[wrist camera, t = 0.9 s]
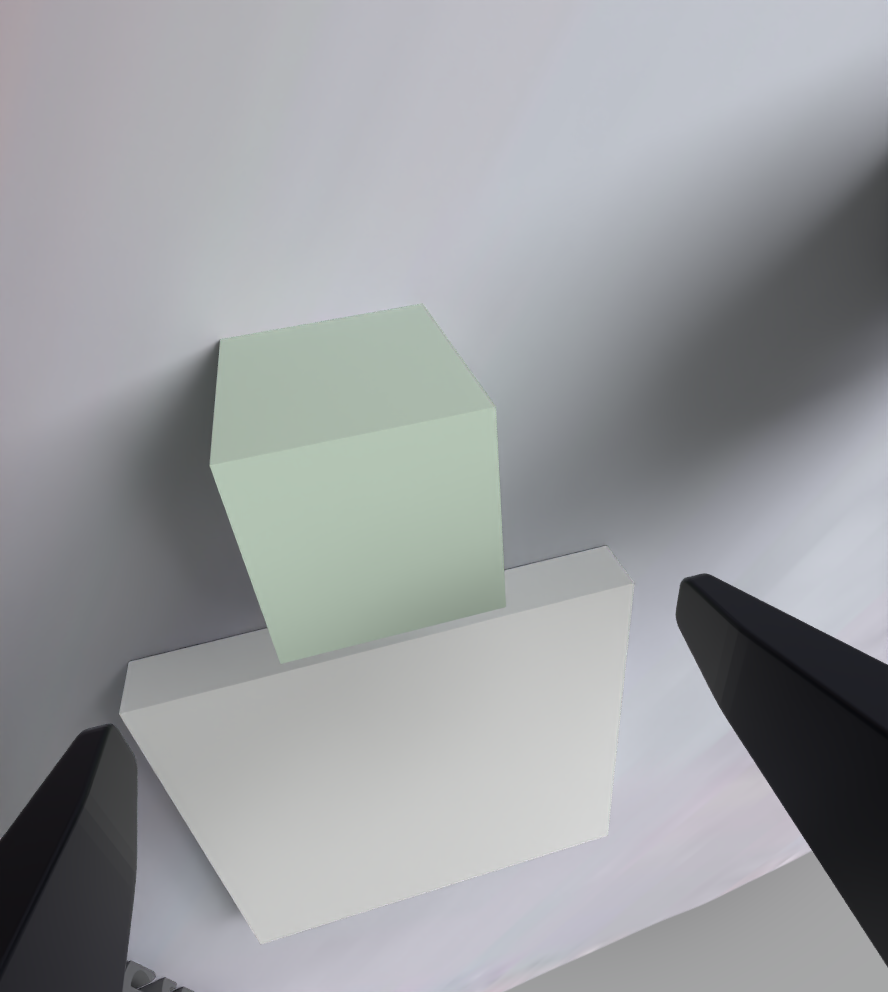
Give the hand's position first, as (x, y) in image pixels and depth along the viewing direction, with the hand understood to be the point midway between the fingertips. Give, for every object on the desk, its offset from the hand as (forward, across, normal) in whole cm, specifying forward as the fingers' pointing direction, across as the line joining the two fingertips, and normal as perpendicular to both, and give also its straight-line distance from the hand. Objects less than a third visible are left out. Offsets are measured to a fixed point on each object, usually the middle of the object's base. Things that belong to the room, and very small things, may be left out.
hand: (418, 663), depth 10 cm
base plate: (+9, 0, +15) cm, 18 cm away
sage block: (+9, 0, 0) cm, 9 cm away
